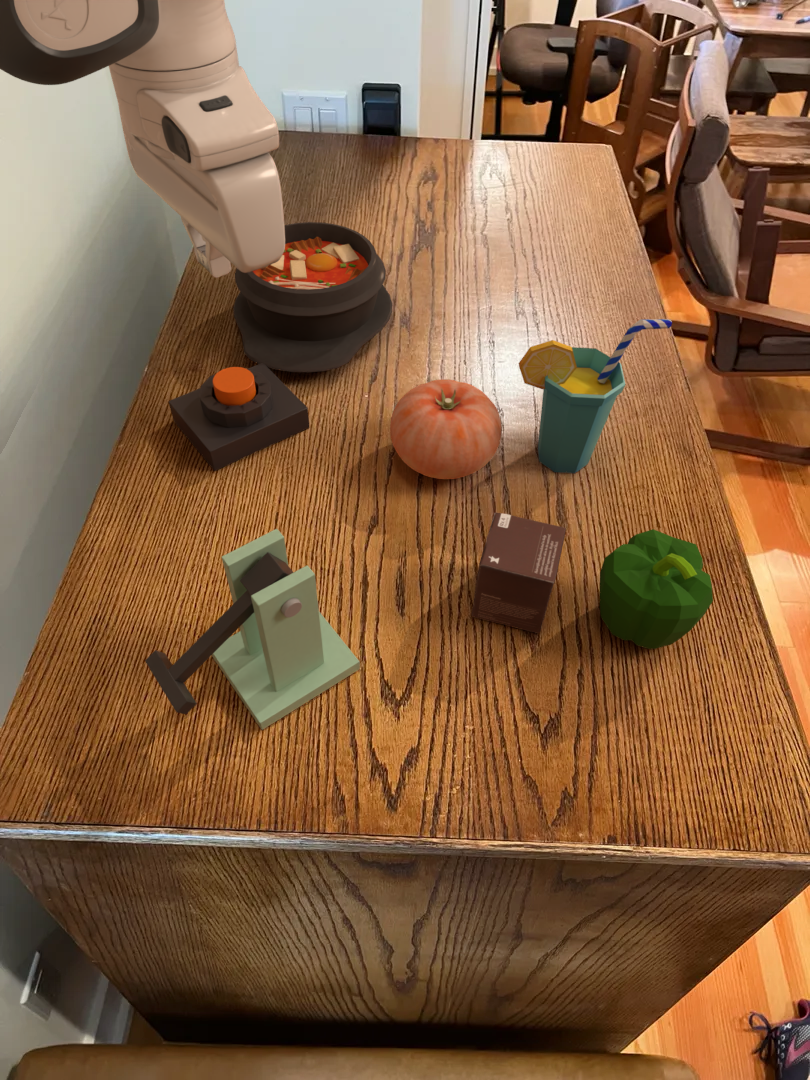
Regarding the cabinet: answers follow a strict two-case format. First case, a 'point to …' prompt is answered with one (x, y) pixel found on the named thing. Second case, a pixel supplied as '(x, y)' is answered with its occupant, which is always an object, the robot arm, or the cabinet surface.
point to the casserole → (313, 300)
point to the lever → (213, 635)
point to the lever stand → (280, 639)
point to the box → (517, 571)
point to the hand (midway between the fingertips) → (214, 268)
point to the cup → (576, 395)
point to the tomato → (445, 429)
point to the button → (234, 386)
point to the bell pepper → (653, 589)
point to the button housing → (239, 419)
